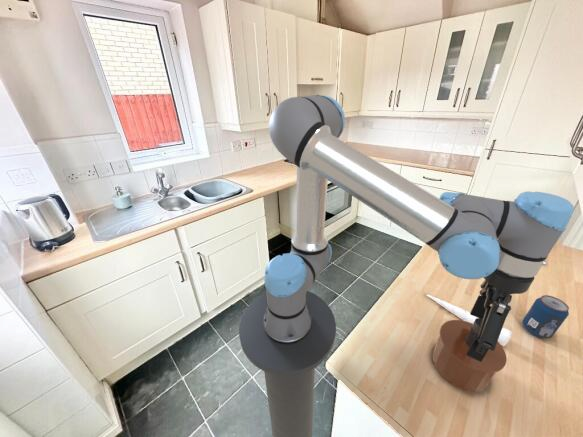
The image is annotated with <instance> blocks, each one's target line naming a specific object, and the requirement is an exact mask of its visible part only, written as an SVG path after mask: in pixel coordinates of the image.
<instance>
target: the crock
mask: <svg viewBox="0 0 583 437" xmlns="http://www.w3.org/2000/svg"><path fill="white" fill-rule="evenodd" d="M432 362H433V364H434V367H435V369H436V370H437V371H438V373H439V374H440V375H441V377H442V378H443V379H444V380H446V381H447V382H448V383H449V384H451V385H452V386H454V387H455V388H457V389H458V390H459V389H460V390H462V391H464V392H469V393H479V392H482V391H484V390H485V389H486V387H487V386H488V385H489V384H490V382H491V381H492V380H493V378H494V376H495V375H496V373H497V372H495V373H485V372H480V371H477V370H474V369H472V368H469V367H468V366H466V365H464V364H462V363H461V362H459V361H458V360H457V359H455V358H454V357H453V356H452V355H451V354H450V353H449V352H448V351H447V349H446V348H445V347H444V345H443V343H442V341H441V338H440V335H439V336H438V339H437V341H436V344H435V346H434V348H433V352H432Z"/></svg>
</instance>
